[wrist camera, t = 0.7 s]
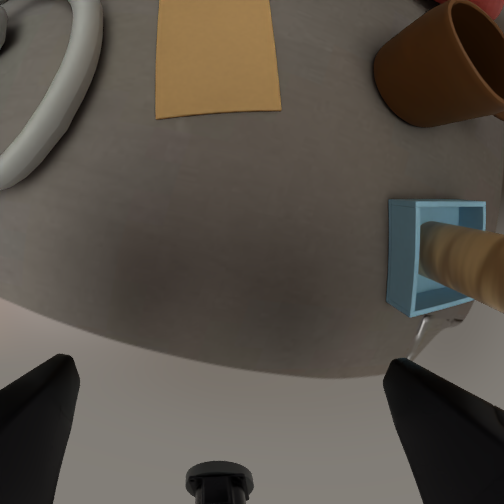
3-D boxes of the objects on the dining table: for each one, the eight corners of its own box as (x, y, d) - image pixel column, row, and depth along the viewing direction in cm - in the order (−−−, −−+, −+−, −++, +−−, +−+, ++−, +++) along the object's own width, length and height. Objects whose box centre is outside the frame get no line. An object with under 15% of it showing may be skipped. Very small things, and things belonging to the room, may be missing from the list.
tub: (453, 287, 22) (478, 298, 19) (385, 301, 21) (409, 317, 18) (458, 199, 20) (485, 201, 17) (388, 199, 20) (415, 201, 16)
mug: (475, 95, 19) (546, 77, 10) (470, 165, 20) (553, 164, 11) (374, 30, 17) (440, -26, 8) (362, 105, 18) (448, 61, 9)
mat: (280, 111, 18) (281, 109, 17) (156, 119, 17) (155, 118, 17) (264, -26, 15) (264, -28, 15) (162, -21, 14) (161, -23, 14)
